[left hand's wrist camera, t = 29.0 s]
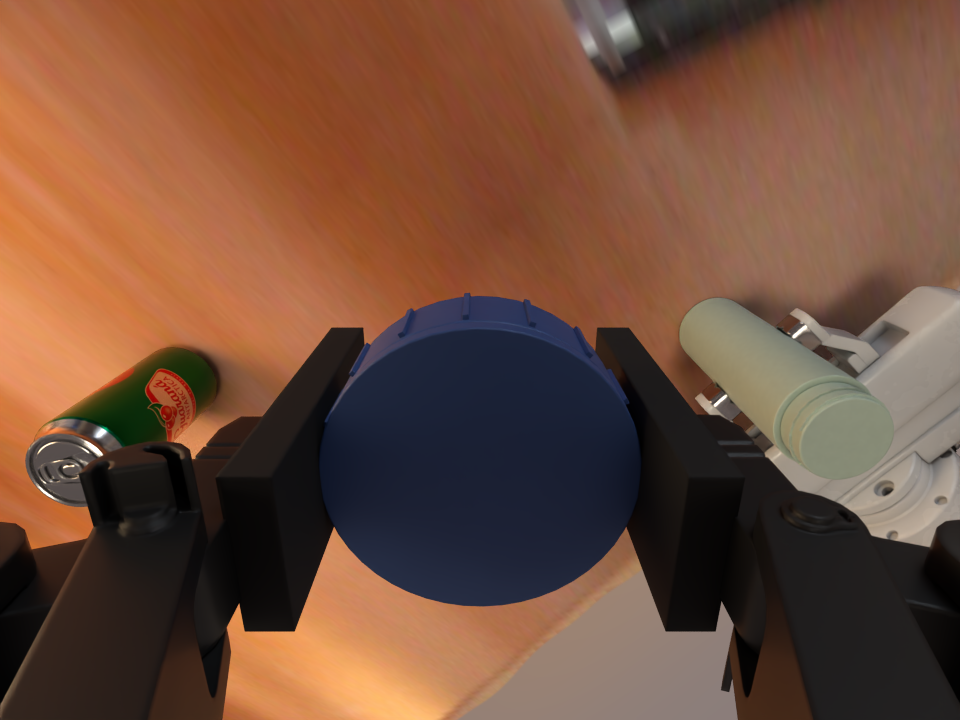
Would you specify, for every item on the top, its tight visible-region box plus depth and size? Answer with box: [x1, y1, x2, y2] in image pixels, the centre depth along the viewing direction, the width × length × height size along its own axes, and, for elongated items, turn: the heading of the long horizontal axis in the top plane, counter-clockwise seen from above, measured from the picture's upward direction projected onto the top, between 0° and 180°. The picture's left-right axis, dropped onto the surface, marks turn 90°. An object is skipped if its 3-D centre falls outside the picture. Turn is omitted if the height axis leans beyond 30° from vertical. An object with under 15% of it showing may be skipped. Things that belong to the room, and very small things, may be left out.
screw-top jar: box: [679, 298, 894, 480], centre depth 32 cm, size 5×5×15 cm
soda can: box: [25, 347, 217, 507], centre depth 35 cm, size 5×5×12 cm
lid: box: [319, 293, 642, 606], centre depth 11 cm, size 6×6×2 cm
